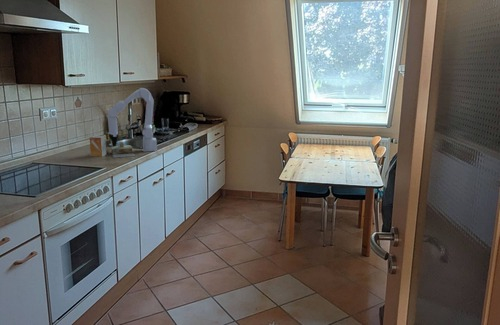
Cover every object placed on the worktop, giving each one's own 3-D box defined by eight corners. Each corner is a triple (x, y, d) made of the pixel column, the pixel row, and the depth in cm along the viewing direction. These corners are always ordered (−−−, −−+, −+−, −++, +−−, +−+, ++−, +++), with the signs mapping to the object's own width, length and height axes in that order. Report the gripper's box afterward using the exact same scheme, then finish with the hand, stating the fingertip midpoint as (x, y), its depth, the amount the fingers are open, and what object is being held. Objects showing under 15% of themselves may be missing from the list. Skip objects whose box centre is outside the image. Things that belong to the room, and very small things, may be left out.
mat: (133, 153, 282) (133, 153, 282) (135, 156, 274) (135, 155, 274) (112, 155, 277) (112, 154, 277) (113, 158, 269) (113, 157, 269)
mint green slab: (130, 146, 290) (130, 141, 289) (132, 148, 283) (131, 142, 282) (111, 147, 285) (110, 142, 284) (112, 149, 278) (112, 144, 277)
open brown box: (130, 150, 292) (130, 144, 291) (132, 153, 282) (132, 147, 281) (111, 152, 287) (111, 145, 286) (113, 155, 277) (112, 148, 276)
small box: (90, 156, 273) (89, 137, 270) (95, 154, 280) (93, 135, 277) (102, 156, 272) (100, 137, 270) (106, 154, 279) (105, 135, 276)
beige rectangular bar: (113, 142, 296) (113, 140, 296) (115, 145, 285) (115, 143, 285) (111, 143, 295) (110, 140, 295) (112, 146, 284) (112, 143, 284)
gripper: (105, 125, 286) (107, 144, 289) (107, 127, 273) (109, 147, 276) (116, 124, 288) (117, 143, 291) (118, 127, 276) (120, 147, 279)
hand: (114, 145), depth 284 cm, fingers closed
